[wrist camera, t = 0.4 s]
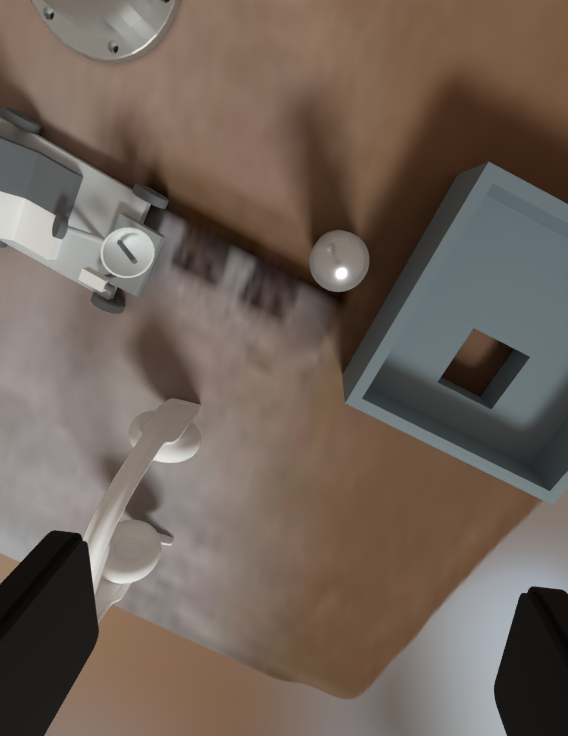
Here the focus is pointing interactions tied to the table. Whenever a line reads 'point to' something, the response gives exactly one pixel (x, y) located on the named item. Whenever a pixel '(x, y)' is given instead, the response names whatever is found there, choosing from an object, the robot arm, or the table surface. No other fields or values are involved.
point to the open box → (490, 316)
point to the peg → (339, 260)
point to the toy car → (74, 214)
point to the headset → (129, 537)
